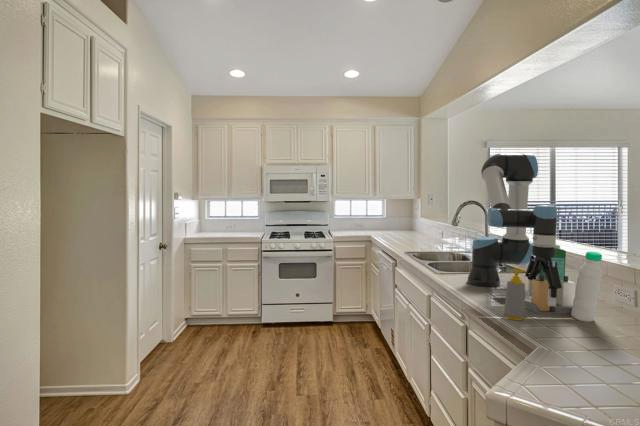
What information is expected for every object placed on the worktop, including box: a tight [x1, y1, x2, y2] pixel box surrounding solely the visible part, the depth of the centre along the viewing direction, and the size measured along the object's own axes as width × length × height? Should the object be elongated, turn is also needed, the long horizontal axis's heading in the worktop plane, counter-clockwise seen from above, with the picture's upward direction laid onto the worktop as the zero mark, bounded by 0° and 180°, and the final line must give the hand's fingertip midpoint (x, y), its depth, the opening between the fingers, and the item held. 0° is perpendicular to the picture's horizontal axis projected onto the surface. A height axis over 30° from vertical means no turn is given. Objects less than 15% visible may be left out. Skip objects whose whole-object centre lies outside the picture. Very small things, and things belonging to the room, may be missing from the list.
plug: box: [531, 275, 550, 311], centre depth 149 cm, size 4×4×13 cm
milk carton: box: [536, 244, 567, 280], centre depth 162 cm, size 9×9×25 cm
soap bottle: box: [503, 268, 527, 321], centre depth 141 cm, size 7×7×18 cm
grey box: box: [525, 275, 576, 315], centre depth 149 cm, size 9×21×14 cm, turn 90°
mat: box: [491, 297, 506, 306], centre depth 161 cm, size 10×10×1 cm
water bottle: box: [570, 251, 604, 323], centre depth 139 cm, size 7×7×25 cm
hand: (541, 300), depth 149 cm, fingers open, 13 cm apart
